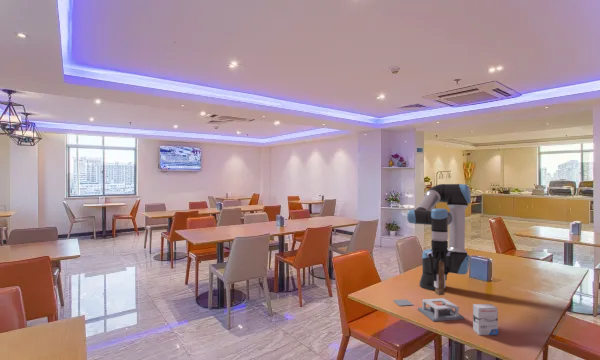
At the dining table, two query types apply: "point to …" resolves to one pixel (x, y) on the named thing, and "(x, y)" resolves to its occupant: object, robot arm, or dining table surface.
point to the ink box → (485, 319)
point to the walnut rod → (440, 279)
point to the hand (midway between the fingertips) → (439, 286)
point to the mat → (403, 302)
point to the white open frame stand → (440, 310)
